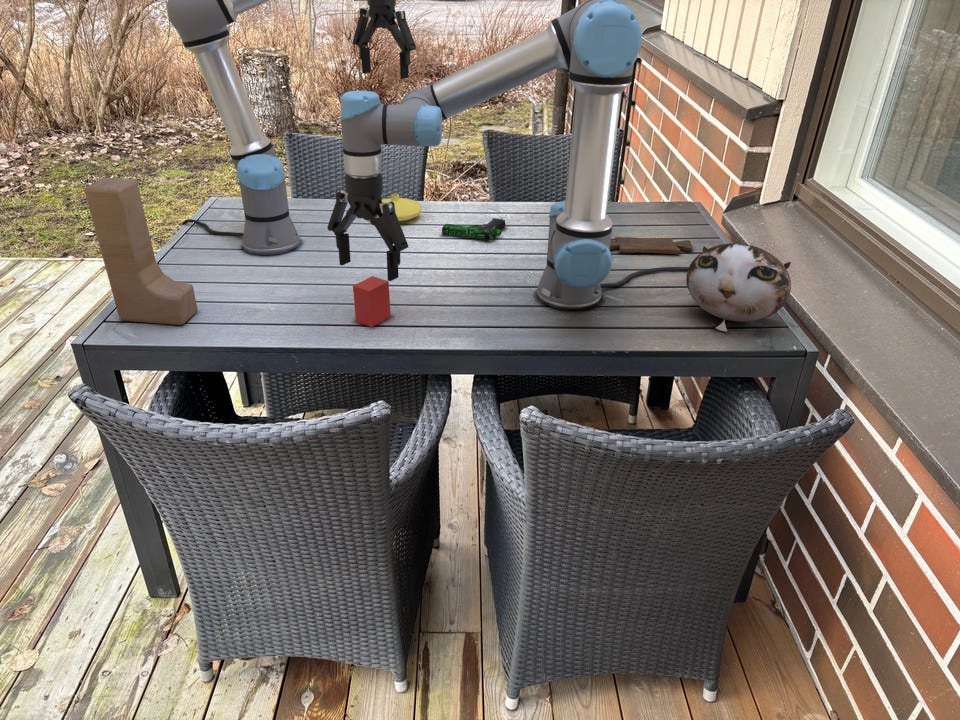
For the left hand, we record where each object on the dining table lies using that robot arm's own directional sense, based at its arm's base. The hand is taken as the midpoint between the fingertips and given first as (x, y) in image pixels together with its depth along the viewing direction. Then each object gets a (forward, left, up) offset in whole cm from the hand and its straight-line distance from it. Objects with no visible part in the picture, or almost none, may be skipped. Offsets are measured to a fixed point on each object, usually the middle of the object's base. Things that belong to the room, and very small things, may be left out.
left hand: (385, 75), depth 197 cm
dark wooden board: (+73, +21, -41) cm, 86 cm away
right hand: (+39, -55, -29) cm, 73 cm away
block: (+39, -55, -41) cm, 78 cm away
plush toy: (+105, -8, -41) cm, 113 cm away
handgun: (+28, +4, -41) cm, 50 cm away
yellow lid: (+1, 0, -41) cm, 41 cm away
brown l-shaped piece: (-1, -81, -41) cm, 91 cm away
